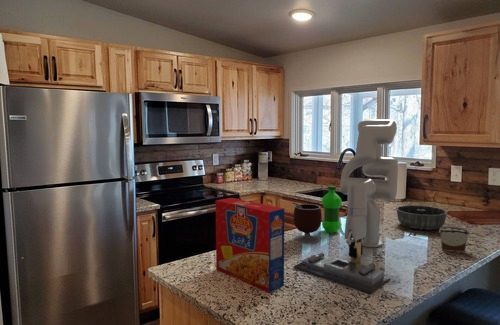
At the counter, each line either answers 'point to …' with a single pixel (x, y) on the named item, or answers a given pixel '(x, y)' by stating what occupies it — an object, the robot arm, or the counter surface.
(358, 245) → the brass pin
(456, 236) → the food container
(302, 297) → the counter surface
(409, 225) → the bundt pan
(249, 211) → the pasta box
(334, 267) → the gray slotted panel
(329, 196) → the plastic bottle
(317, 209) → the mate gourd
